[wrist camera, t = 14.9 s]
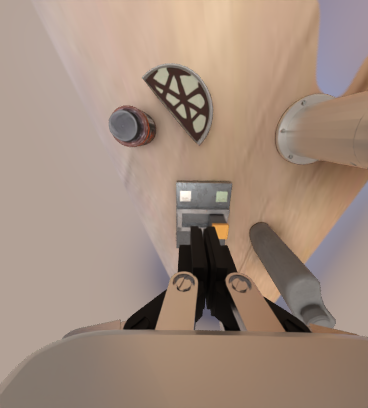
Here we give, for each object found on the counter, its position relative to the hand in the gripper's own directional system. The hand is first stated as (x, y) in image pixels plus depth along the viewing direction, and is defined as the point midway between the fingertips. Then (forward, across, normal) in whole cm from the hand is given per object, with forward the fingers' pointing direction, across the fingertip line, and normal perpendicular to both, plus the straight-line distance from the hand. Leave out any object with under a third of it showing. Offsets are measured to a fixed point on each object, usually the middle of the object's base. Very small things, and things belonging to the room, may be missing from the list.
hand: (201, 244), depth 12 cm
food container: (+27, +1, -12) cm, 30 cm away
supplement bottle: (+27, +10, -8) cm, 30 cm away
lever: (+25, -6, +11) cm, 28 cm away
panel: (+27, -3, +11) cm, 29 cm away
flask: (+27, -20, +19) cm, 39 cm away
